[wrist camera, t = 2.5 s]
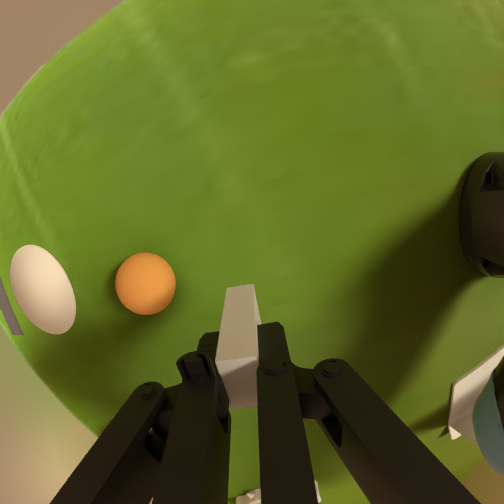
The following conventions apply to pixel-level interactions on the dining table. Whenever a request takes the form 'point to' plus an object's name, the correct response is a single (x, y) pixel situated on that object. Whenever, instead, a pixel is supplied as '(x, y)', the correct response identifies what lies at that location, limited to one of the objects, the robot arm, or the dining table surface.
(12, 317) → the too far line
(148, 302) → the ball
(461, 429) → the tablet stand
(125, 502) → the robot arm
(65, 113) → the dining table surface
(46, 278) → the disc
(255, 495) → the white brass knuckles
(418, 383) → the dining table surface
